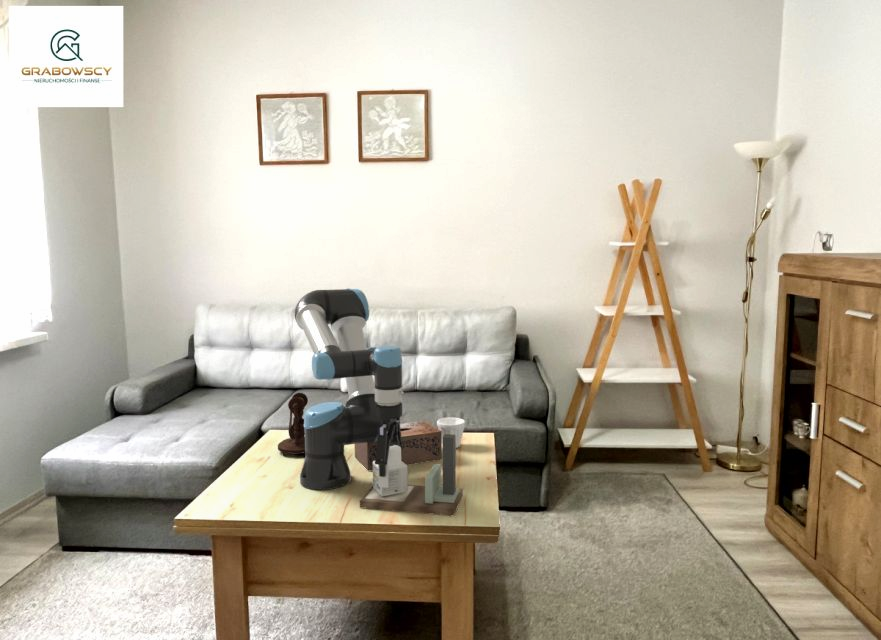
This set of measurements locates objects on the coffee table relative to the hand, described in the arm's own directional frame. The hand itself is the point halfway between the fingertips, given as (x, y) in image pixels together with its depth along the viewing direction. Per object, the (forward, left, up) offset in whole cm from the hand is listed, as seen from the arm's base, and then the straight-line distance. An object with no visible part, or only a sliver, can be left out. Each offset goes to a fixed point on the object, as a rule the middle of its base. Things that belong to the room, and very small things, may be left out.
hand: (389, 479), depth 178 cm
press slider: (+15, 0, -4) cm, 16 cm away
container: (0, 0, -3) cm, 3 cm away
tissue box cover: (-7, +34, -6) cm, 35 cm away
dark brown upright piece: (-43, +35, -6) cm, 56 cm away
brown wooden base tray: (+7, 0, -6) cm, 9 cm away
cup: (+8, +50, -6) cm, 51 cm away
